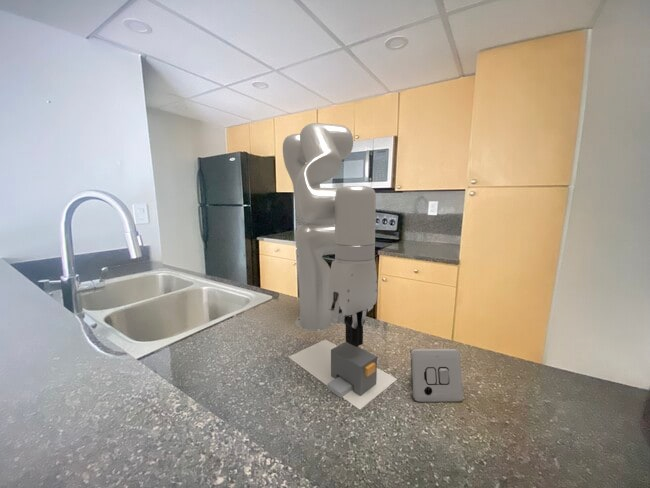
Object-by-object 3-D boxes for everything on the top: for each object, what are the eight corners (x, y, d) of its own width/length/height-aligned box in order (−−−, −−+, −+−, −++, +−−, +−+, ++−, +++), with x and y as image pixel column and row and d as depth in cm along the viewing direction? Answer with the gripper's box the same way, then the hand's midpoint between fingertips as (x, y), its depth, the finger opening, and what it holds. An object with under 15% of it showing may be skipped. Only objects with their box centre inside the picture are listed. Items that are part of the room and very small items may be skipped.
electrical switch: (414, 403, 49) (415, 355, 49) (405, 386, 54) (406, 343, 54) (463, 403, 49) (465, 355, 49) (450, 386, 54) (451, 342, 54)
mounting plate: (325, 343, 70) (325, 335, 70) (397, 384, 54) (397, 374, 54) (286, 362, 62) (286, 353, 62) (357, 417, 46) (357, 405, 46)
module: (346, 366, 58) (347, 341, 57) (378, 385, 52) (379, 357, 51) (330, 376, 55) (330, 349, 54) (362, 398, 49) (363, 368, 48)
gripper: (364, 246, 57) (363, 325, 60) (311, 255, 47) (313, 349, 50) (393, 250, 52) (391, 337, 54) (341, 261, 42) (341, 366, 44)
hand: (354, 343), depth 52 cm, fingers closed
